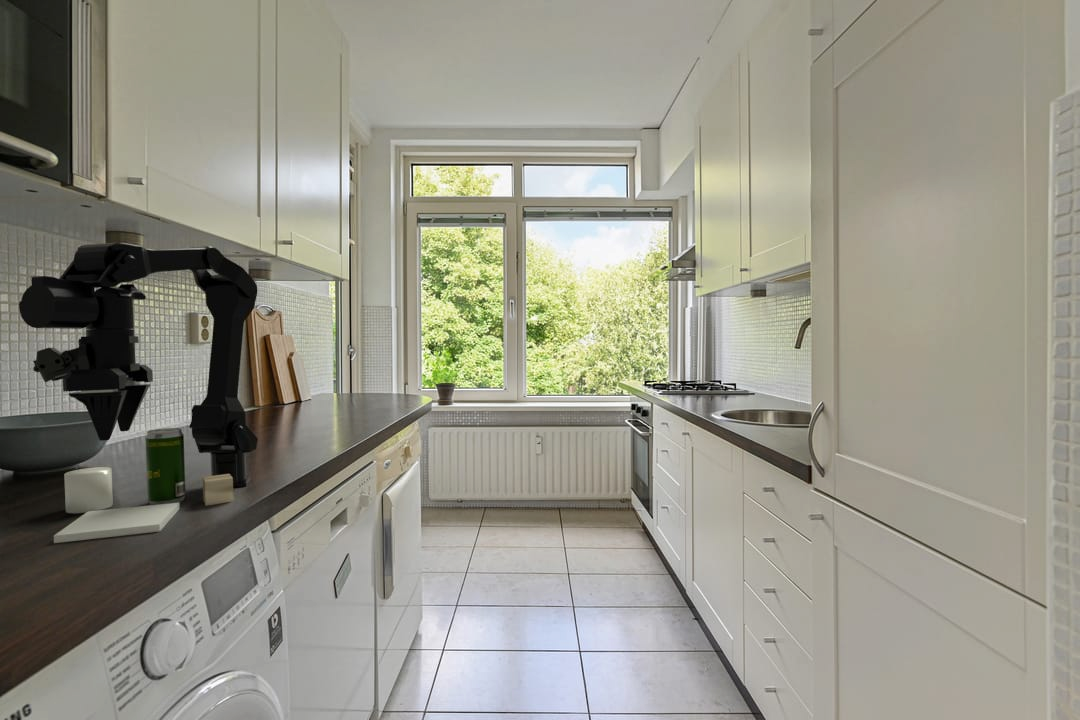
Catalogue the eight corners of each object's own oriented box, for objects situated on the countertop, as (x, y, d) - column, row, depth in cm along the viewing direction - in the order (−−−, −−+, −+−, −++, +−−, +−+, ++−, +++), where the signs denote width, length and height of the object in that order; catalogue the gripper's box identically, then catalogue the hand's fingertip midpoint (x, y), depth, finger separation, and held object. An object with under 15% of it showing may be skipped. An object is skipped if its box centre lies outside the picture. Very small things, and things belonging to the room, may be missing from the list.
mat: (88, 518, 88) (88, 511, 88) (179, 508, 92) (179, 502, 92) (53, 543, 76) (53, 535, 76) (159, 531, 81) (159, 524, 81)
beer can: (192, 496, 99) (189, 427, 99) (175, 505, 94) (173, 432, 94) (159, 497, 99) (156, 428, 98) (140, 506, 93) (137, 433, 93)
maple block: (203, 500, 97) (202, 477, 97) (230, 496, 99) (229, 473, 99) (205, 506, 94) (205, 481, 94) (233, 501, 96) (232, 477, 96)
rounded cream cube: (74, 505, 95) (73, 469, 95) (117, 501, 97) (116, 465, 97) (59, 515, 90) (57, 476, 89) (105, 510, 92) (103, 473, 92)
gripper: (67, 331, 90) (72, 430, 91) (9, 328, 73) (15, 451, 73) (151, 330, 94) (155, 425, 95) (115, 327, 77) (120, 443, 77)
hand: (115, 435), depth 85 cm, fingers open, 9 cm apart
